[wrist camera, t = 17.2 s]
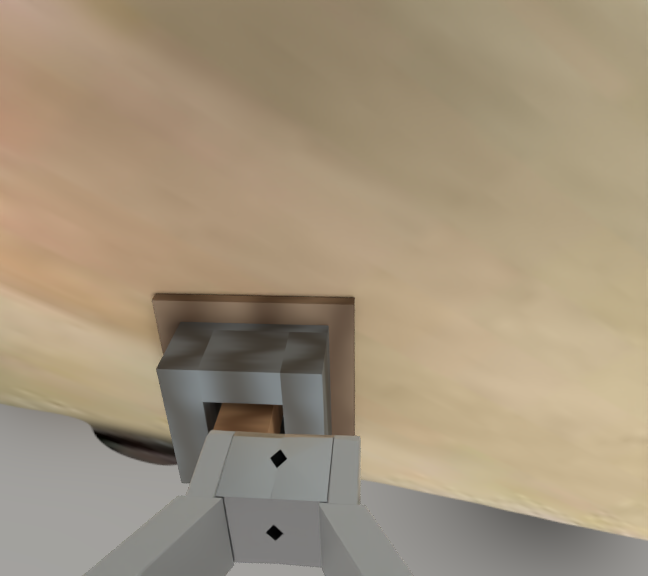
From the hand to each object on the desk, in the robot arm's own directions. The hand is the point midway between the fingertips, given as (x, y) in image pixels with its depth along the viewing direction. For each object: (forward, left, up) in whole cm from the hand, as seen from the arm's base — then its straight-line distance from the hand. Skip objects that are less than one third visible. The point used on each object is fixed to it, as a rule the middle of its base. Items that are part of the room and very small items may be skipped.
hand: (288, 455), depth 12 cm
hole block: (+8, +24, -31) cm, 40 cm away
